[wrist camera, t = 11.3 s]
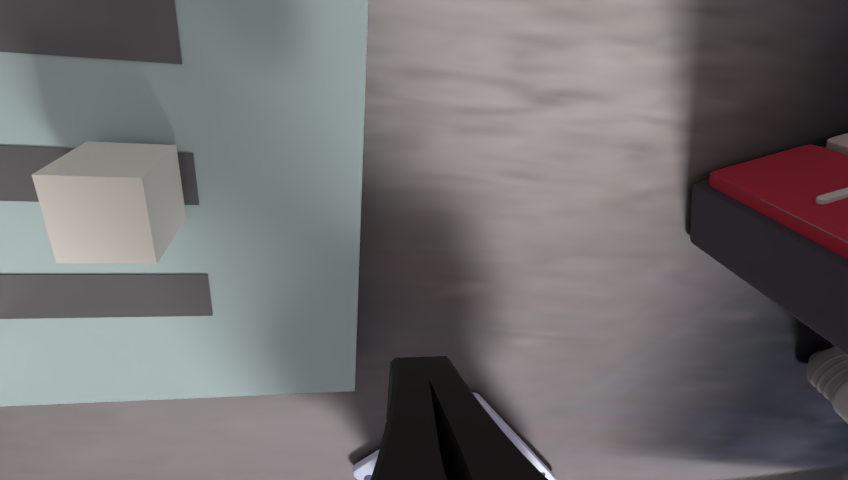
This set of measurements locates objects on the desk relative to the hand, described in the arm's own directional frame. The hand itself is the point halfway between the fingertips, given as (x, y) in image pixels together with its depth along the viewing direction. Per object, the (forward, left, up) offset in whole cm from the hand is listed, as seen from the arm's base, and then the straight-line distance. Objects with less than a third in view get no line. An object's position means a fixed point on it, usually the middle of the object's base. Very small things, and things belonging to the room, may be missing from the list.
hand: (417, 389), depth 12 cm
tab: (+7, +5, -7) cm, 11 cm away
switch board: (+8, +8, -9) cm, 15 cm away
